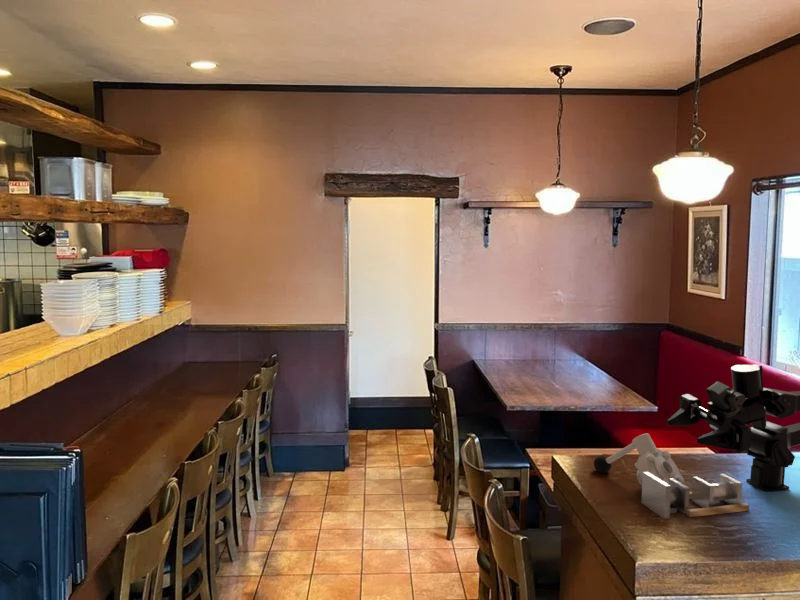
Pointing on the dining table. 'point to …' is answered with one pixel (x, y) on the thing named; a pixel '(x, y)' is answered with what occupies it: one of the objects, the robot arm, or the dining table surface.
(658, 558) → the dining table surface
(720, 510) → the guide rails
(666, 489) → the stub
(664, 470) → the mechanical valve
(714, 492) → the grey slotted block
